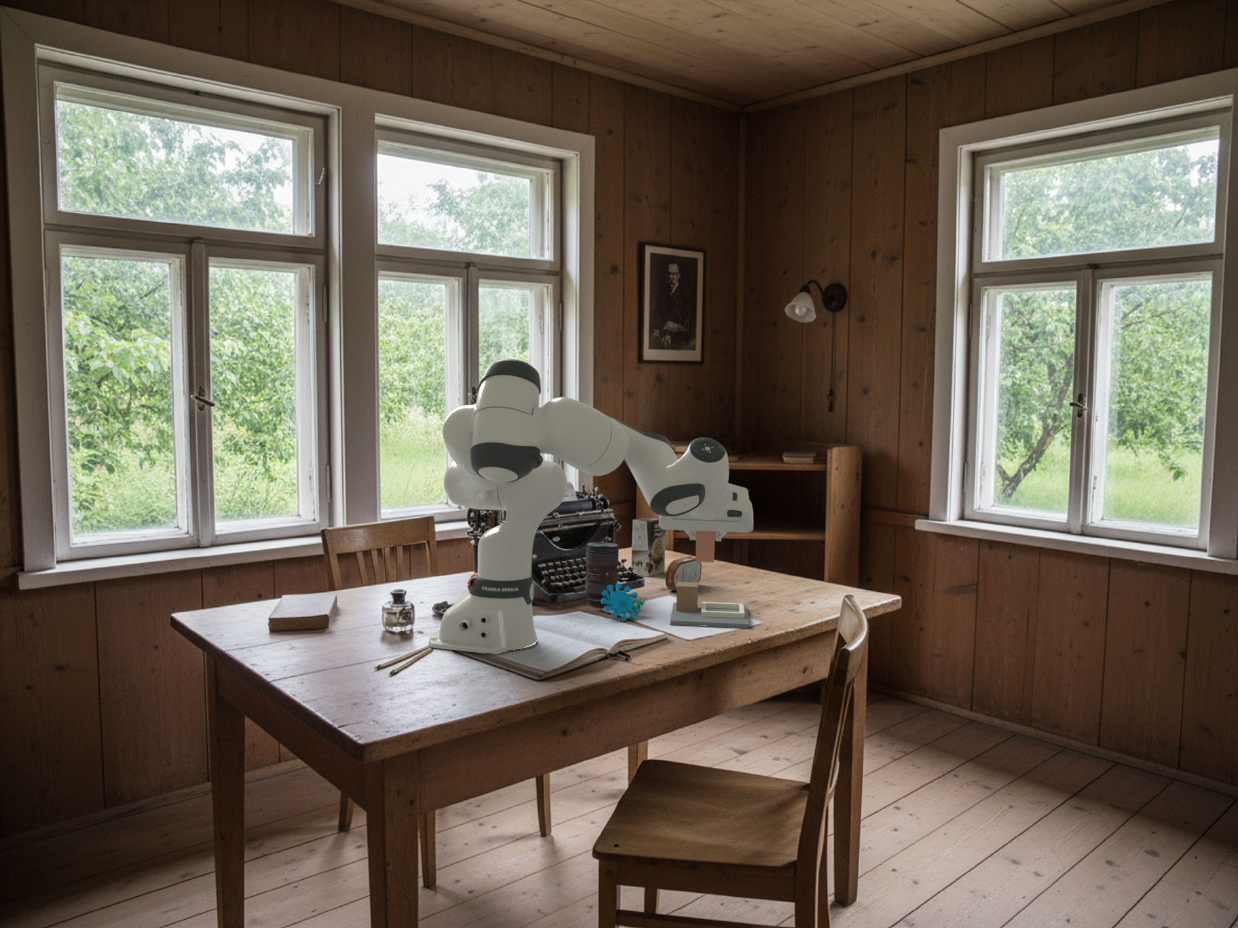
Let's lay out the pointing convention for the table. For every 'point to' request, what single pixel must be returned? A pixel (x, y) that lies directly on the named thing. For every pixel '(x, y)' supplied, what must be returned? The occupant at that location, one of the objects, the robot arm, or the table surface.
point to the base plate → (706, 610)
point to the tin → (682, 572)
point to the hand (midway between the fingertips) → (705, 538)
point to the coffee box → (648, 547)
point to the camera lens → (600, 570)
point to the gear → (621, 602)
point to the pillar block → (705, 546)
